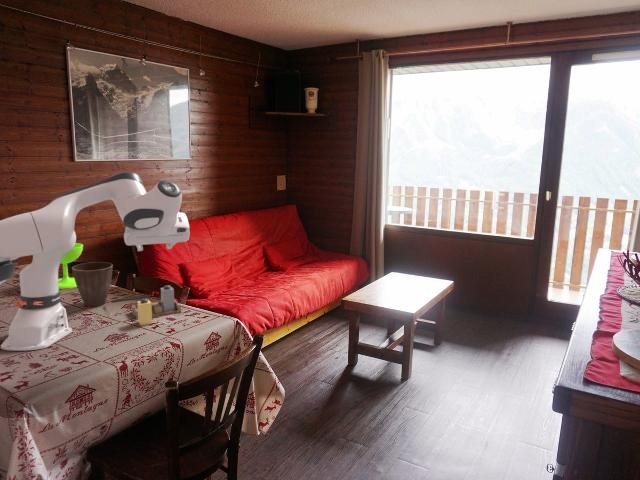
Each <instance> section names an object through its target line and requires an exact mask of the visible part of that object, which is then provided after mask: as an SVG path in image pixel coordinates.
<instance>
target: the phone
mask: <svg viewBox="0 0 640 480" xmlns="http://www.w3.org/2000/svg"><path fill="white" fill-rule="evenodd" d="M149 298H150V299H151V296H150V295H148V294H142V295H138V296H131V297H124V298H119V299H112V300H111V304H112V303H121V302H127V301H135V300H141V299H149Z"/></svg>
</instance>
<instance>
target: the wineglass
mask: <svg viewBox="0 0 640 480" xmlns="http://www.w3.org/2000/svg"><path fill="white" fill-rule="evenodd" d="M83 250H84V244H83V243H78V242H76V243H75V245H74V247H73V248H72V249H71V251H69V252H68V253H67V254H66V255H65V256H64V257H63V258H62V260H61V262H60V264H62V274H63V277H62V278H58V286H59V290H64V289H67V288H68V289H73V288H77V285H76V282H75V279H74V277H70V276H69V272H68V271H69V269H68V268H69V267H68V264H70V263H72V262H75V261H76V260H77V259H78V258H79V257H80V256H81V255H82V252H83ZM68 289H67V290H68Z"/></svg>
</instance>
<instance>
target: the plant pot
mask: <svg viewBox="0 0 640 480" xmlns="http://www.w3.org/2000/svg"><path fill="white" fill-rule="evenodd" d="M113 267H114V266H113V264H112V263H111V262H105V261H94V262H92V261H91V262H85V263H84V262H83V263H79V264H76V265H73V266H72V267H71V272H72V275H73V278H74V279H75V282H76V285H77V287H76V288H77V290H78V292H79V295H80V297H81V300H82V301H83V303H84V305H85V306H86V307H91V308H92V307H99V306H102V305H104V304H106V302H107V298H108V294H109V291H110V289H111V288H110V287H111V283H112V276H113Z"/></svg>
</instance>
